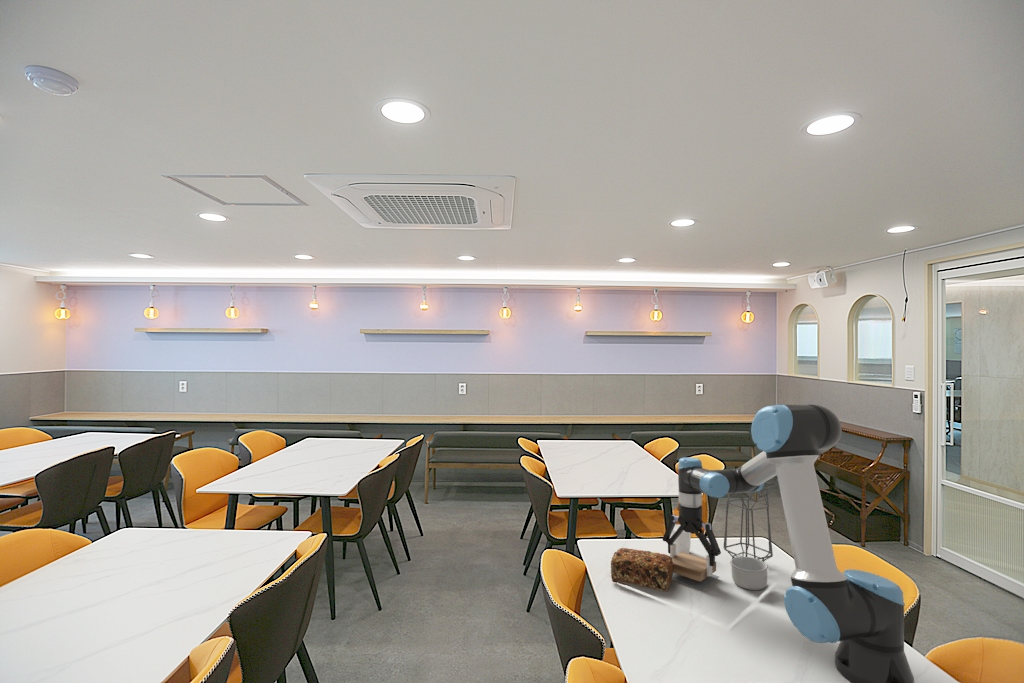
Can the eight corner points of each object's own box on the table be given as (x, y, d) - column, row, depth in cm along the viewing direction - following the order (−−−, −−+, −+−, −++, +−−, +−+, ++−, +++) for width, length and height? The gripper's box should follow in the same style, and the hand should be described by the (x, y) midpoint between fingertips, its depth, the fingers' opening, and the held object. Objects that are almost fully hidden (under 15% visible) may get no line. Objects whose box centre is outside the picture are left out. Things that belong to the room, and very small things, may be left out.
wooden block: (700, 581, 156) (700, 572, 157) (665, 570, 165) (665, 561, 165) (716, 570, 165) (716, 561, 165) (682, 560, 173) (682, 551, 174)
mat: (701, 593, 155) (701, 590, 155) (660, 578, 165) (660, 575, 165) (719, 579, 165) (719, 576, 165) (680, 566, 175) (680, 563, 175)
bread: (673, 583, 163) (673, 552, 163) (667, 596, 153) (667, 564, 154) (618, 570, 172) (619, 541, 172) (609, 582, 162) (609, 552, 163)
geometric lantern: (752, 577, 167) (752, 474, 168) (714, 559, 181) (714, 464, 182) (781, 568, 175) (781, 469, 175) (743, 552, 188) (743, 461, 189)
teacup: (771, 597, 154) (771, 571, 154) (734, 593, 156) (735, 567, 156) (758, 577, 167) (758, 553, 168) (725, 574, 170) (725, 550, 170)
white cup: (664, 552, 188) (664, 526, 188) (680, 549, 191) (680, 523, 191) (679, 560, 181) (679, 532, 181) (695, 556, 184) (695, 529, 184)
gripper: (731, 509, 160) (732, 577, 159) (662, 495, 177) (663, 555, 176) (721, 514, 155) (722, 584, 154) (652, 499, 172) (652, 561, 171)
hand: (690, 569), depth 165 cm, fingers closed on wooden block, 12 cm apart
